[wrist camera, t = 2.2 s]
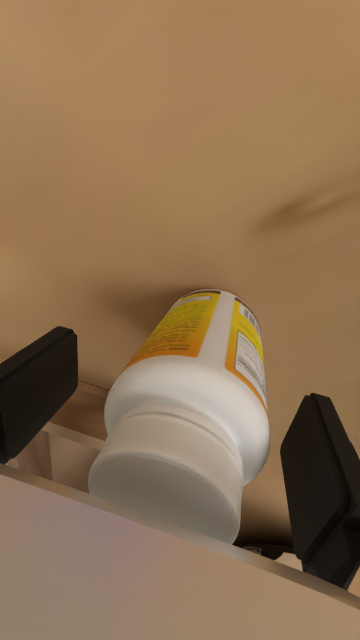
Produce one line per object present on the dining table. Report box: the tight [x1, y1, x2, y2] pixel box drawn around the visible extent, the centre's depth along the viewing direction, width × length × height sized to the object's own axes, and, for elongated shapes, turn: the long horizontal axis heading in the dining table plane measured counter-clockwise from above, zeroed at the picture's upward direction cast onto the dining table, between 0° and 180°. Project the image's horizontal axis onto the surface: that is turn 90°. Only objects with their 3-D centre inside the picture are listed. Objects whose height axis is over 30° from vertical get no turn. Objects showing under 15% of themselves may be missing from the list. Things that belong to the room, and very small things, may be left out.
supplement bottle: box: [88, 289, 270, 545], centre depth 11 cm, size 6×6×10 cm
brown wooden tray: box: [7, 381, 109, 494], centre depth 22 cm, size 11×20×4 cm, turn 171°
